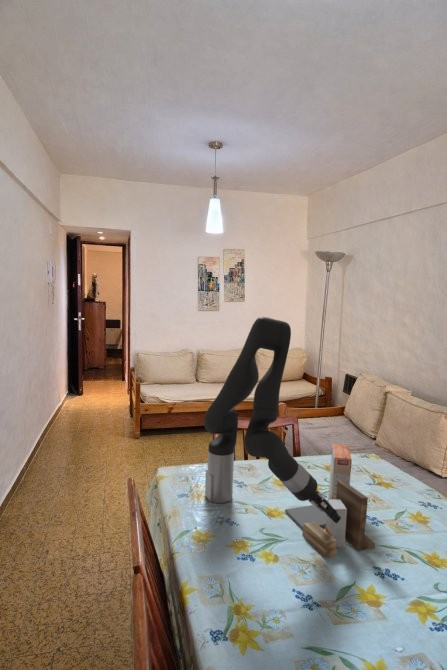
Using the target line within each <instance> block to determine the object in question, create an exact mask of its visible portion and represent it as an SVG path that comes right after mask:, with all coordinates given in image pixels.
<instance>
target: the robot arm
mask: <svg viewBox="0 0 447 670" xmlns="http://www.w3.org/2000/svg"><path fill="white" fill-rule="evenodd" d="M291 335H292V329H291V326H290V324H289V323H288V322H286V321H284V320H283V321H282V320H279V319H275V318H271V317H267V316H259V317H257V318H256V320H255V321H254V322H253V324H252V325H251V327H250V331H249V332H248V335H247V337H246V340H245V343H244V344H243V347H242V350H241V352H240V354H238V355H239V356H238V357H237V359H236V361H235V363H234V365H233V367H232V368H231V370H230V371H229V374H228V376H227V377H226V380H225V382H224V384H223V385H222V388H221V389H220V391H219V393H218V394H217V396H216V397H215V399H214V400H213V401H212V403H211V404H210V406H209V407H208V408H207V410H206V413H205V415H204V419H203V420H204V421H203V424H204V429H205V430H206V431H207V432H208V433H209V434H211V435H218V436H216V437H214V439H212V440H210V442H209V444H208V449H207V450H208V453H207V454H208V456H207V457H208V458H207V469H206V470H205V481H204V482H205V484H204V485H205V486H204V488H205V489H204V495H205V497H206V499H207V500H208V502H209V503H216V504H224V503H225V504H226V503H228V502H230V501H231V500H233V493H234V492H233V490H234V489H233V488H234V487H233V486H234V468H235V467H234V466H235V465H234V464H235V461H234V460H235V448H236V445H237V439H238V438H237V437H238V426H239V417H238V411H237V409H236V408H235V407H237V406H238V405H240V404H241V403H242V402H244V401H245V400H246V399H248V397H249V396H250V395H251V394H252V392H253V391H254V389H255V391H254V395H253V405H252V415H251V417H250V419H249V423H248V425H247V429H246V432H245V434H244V440H243V441H244V443H243V444H244V449H245V451H246V452H247V453H246V454H248V455H249V456H251V457H254V458H264V459H267V461H268V462H267V466H268V469H269V470H270V471H271V473H272V474H273V475H275V477H276V478H277V479H279V481H280V483H281V484H282V485H283V486H284V487H285V488H286V489H287V490H288V491H289V492H290V493H291V494H292V495H293V496H294V497H295V498H296V499H297V500H298V501H301V502H305V501H307V502H309V503H310V504H311V505H315V506H316V507H317V508H318V509H319V510H320V511H321V512H324V513H325V514H327V516H329V518H330V519H332V520H333V521H334V522H335V523H338V522H339V520H340V519H341V517H340V516H339V515H338V514H337V511H336V510H335V509H334V508H333V507H332V506H331V505H330V504H329V502H328V501H327V500H328V499H327V498H325V497H324V496H323V495H322V493H321V492H320V491H319V490H318V486H319V485H318V481H317V480H316V479H315V478H314V477H313V475H312V474H311V473H309V471H308V470H307V469H306V468H305V467H304V466H303V465H302V464H300V462H298V461H297V460H296V459H295V458H294V457H293V456H292V455H291V454H290V453H289V451H288V449H287V446H286V444H285V443H284V441H283V439H282V438H281V437H280V435H278V434H277V433H275V432H273V431H269V430H268V428H269V426H270V424H273V423H275V422H276V421H277V420H278V414H279V403H280V390H281V385H282V381H283V375H284V372H285V366H286V363H287V358H288V355H289V353H288V352H289V350H290V344H291ZM260 349H263V350H268V351H273V358H272V362H271V364H270V366H269V368H268V369H267V371H266V372H265V374H264V375H263V376H262V378H261V379H260V380H259V378H260V376H259V375H260V374H259V373H260V372H259V369H258V365H257V361H256V355H257V352H258V351H259V350H260Z"/></svg>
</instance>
